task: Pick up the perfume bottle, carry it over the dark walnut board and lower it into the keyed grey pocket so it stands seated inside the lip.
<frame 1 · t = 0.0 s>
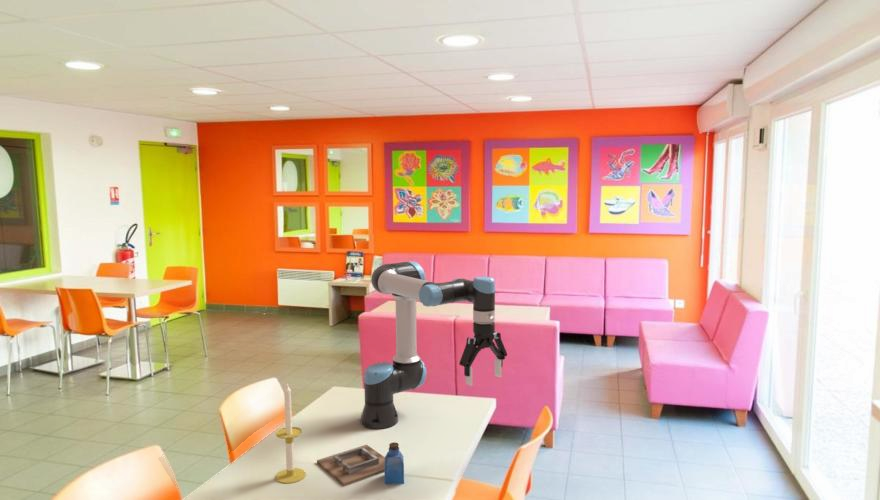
hand: (483, 380, 207), 28 cm above the table, fingers open, 13 cm apart
perfume bottle: (394, 479, 195), on the table
candle: (290, 476, 197), on the table
pocket board: (356, 465, 204), on the table
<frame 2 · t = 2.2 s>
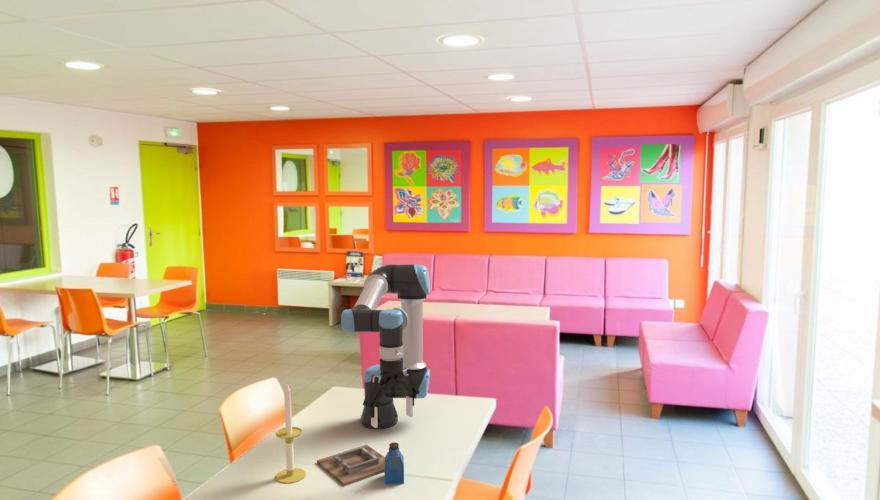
hand: (392, 421, 192), 20 cm above the table, fingers open, 13 cm apart
nothing on the table moved.
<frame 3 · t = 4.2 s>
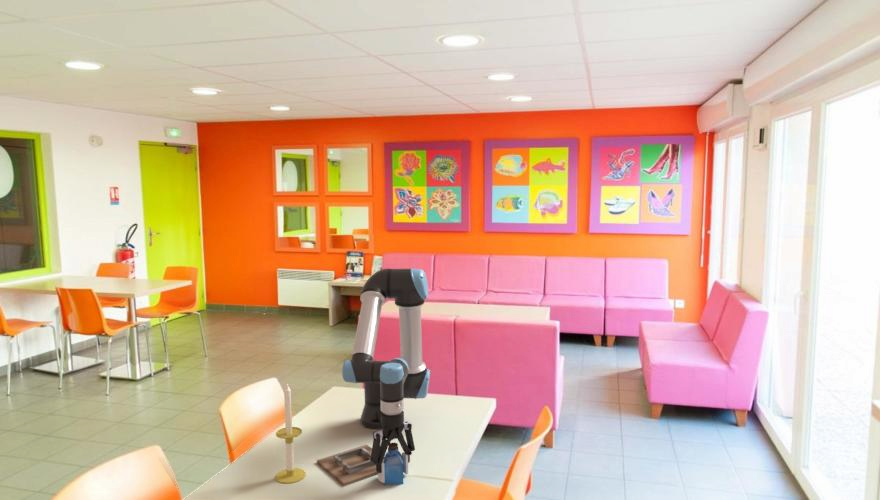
hand: (393, 476, 195), 1 cm above the table, fingers closed on perfume bottle, 8 cm apart
perfume bottle: (393, 479, 195), on the table, touching gripper
everything else where it was.
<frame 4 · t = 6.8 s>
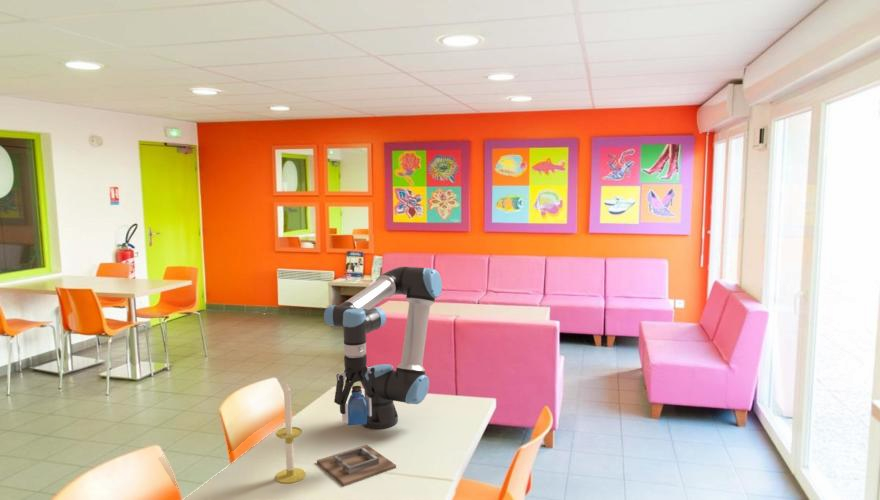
hand: (357, 418, 202), 17 cm above the table, fingers closed on perfume bottle, 8 cm apart
perfume bottle: (357, 421, 202), point 16 cm above the table, touching gripper
everything else where it was.
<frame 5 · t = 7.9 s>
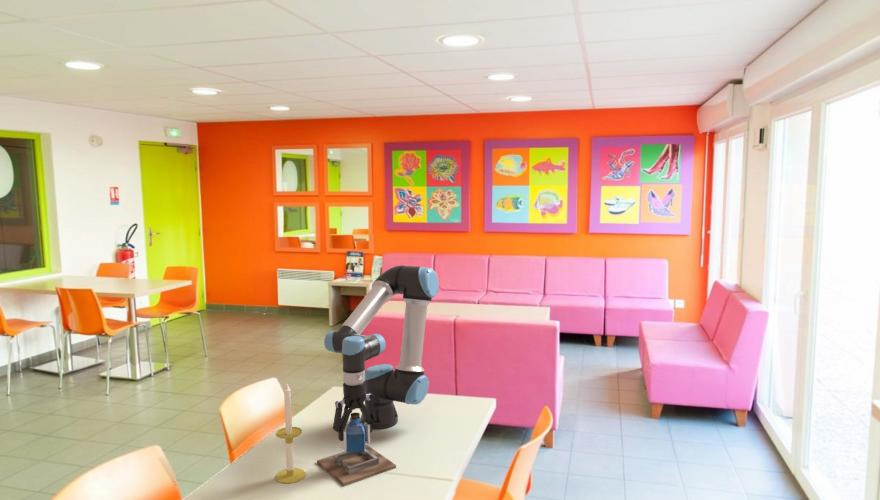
hand: (355, 445, 203), 7 cm above the table, fingers closed on perfume bottle, 8 cm apart
perfume bottle: (355, 448, 203), point 6 cm above the table, touching gripper
everything else where it was.
when the fingers open (4 cm above the table, at t = 9.1 s): perfume bottle drops 2 cm, resting on pocket board.
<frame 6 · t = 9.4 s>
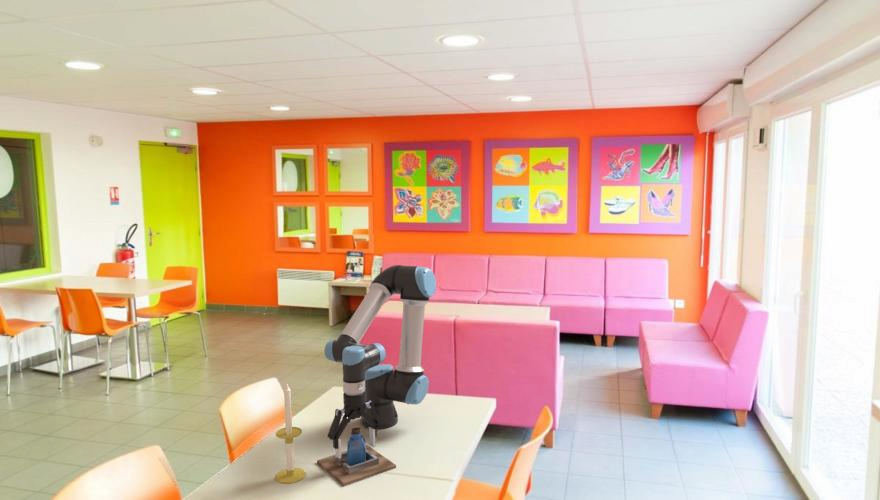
hand: (355, 451, 204), 5 cm above the table, fingers open, 13 cm apart
perfume bottle: (356, 462, 204), point 1 cm above the table, touching pocket board
everything else where it was.
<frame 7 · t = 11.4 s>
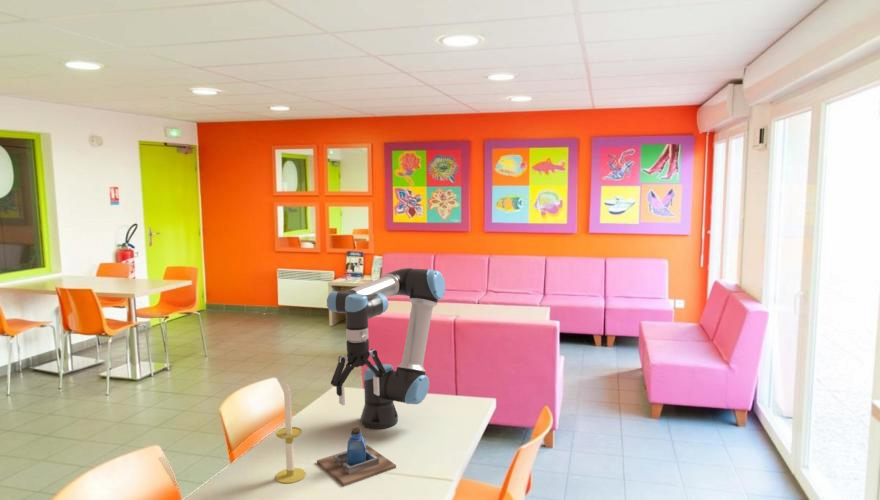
hand: (359, 399, 204), 23 cm above the table, fingers open, 13 cm apart
nothing on the table moved.
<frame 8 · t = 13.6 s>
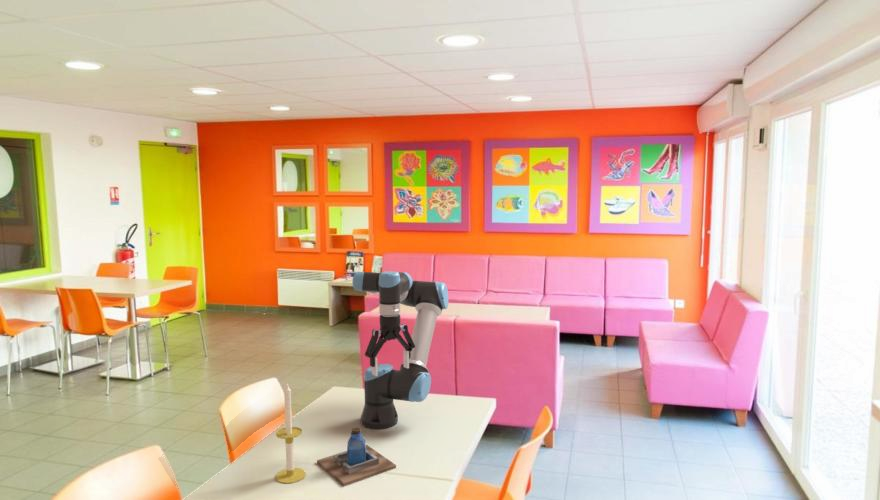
hand: (390, 371, 216), 29 cm above the table, fingers open, 13 cm apart
nothing on the table moved.
at the end: perfume bottle 0.3 cm off-centre on the pocket board, point 0.8 cm above the pocket board's base; perfume bottle tilted 0°; the gripper is holding nothing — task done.
